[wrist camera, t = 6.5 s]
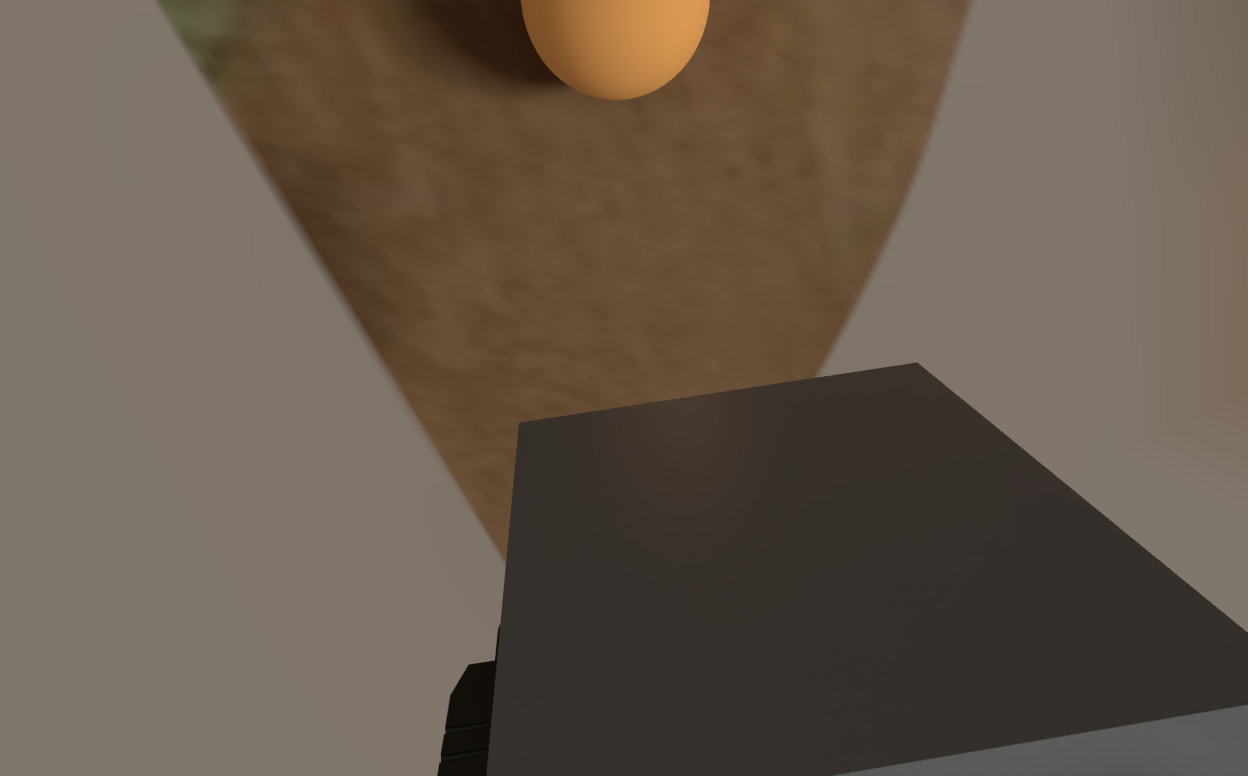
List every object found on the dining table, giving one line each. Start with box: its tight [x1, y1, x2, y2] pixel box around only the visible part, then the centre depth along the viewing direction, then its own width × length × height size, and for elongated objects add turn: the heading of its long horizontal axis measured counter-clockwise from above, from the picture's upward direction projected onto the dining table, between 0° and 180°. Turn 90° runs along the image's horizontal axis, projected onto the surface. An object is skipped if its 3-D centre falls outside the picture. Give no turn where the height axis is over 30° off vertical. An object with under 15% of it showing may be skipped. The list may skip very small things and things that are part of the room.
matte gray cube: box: [486, 363, 1248, 776], centre depth 10 cm, size 7×7×7 cm
